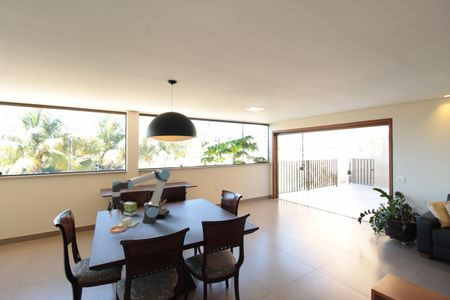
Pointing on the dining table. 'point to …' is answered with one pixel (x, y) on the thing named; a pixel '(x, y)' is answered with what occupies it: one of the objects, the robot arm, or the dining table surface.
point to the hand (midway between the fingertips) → (116, 217)
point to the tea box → (130, 208)
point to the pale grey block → (124, 222)
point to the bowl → (117, 229)
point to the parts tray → (128, 224)
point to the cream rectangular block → (128, 220)
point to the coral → (162, 210)
